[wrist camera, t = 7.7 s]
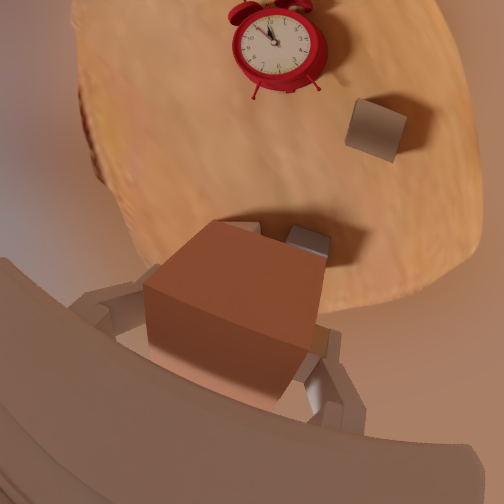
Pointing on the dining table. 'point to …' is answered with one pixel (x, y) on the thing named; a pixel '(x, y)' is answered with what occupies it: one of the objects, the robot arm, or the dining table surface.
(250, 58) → the alarm clock
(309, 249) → the slate-grey block
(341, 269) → the dining table surface
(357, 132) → the walnut block
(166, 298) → the terracotta block
